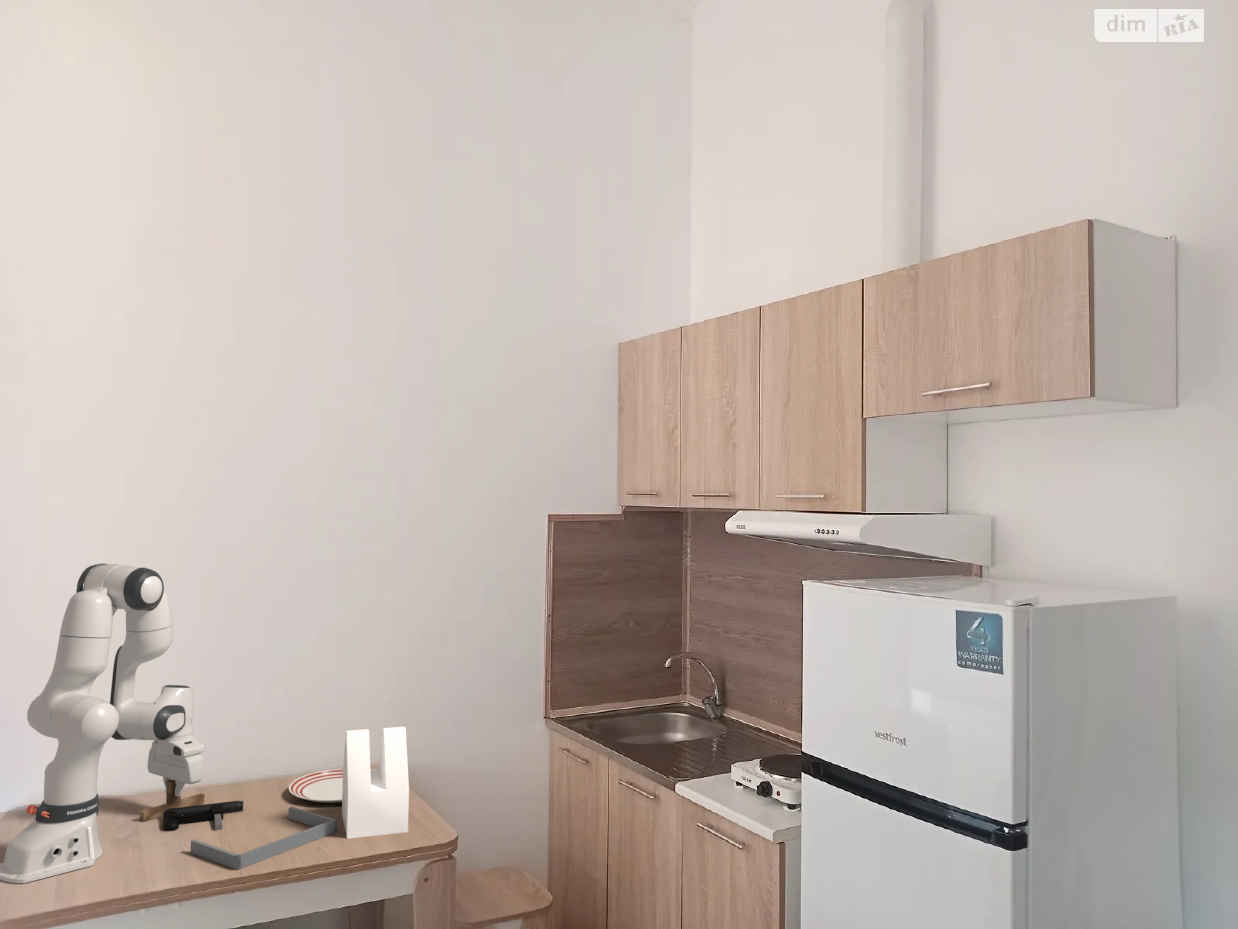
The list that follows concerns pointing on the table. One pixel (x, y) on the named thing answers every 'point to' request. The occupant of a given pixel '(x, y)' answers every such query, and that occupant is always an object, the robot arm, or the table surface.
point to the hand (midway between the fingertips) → (173, 794)
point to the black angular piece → (199, 814)
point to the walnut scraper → (171, 803)
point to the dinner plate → (319, 786)
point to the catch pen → (235, 861)
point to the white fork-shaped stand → (375, 785)
